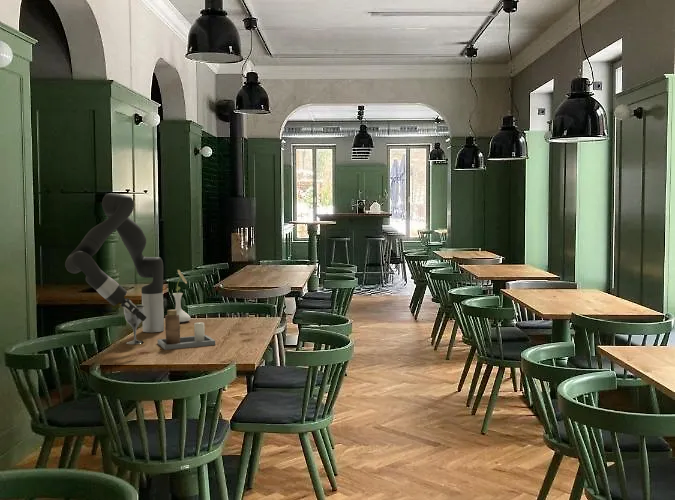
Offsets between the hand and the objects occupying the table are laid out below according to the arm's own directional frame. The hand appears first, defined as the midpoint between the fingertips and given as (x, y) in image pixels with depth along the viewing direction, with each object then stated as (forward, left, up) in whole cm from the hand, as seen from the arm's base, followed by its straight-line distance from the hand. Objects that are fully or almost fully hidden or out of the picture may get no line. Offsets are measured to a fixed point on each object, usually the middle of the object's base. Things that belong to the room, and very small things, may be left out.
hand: (142, 317), depth 290 cm
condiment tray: (0, +17, -13) cm, 21 cm away
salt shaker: (0, +22, -12) cm, 25 cm away
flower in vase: (-62, +28, -13) cm, 69 cm away
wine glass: (-18, 0, -13) cm, 22 cm away
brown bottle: (0, +11, -12) cm, 17 cm away
